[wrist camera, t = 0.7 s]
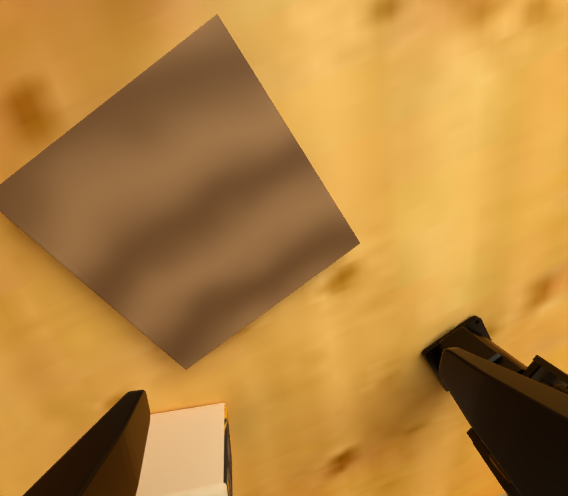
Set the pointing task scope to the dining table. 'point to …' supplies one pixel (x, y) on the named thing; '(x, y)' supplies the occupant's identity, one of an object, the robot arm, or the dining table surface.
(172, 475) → the medicine bottle
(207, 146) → the walnut plinth
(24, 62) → the dining table surface
